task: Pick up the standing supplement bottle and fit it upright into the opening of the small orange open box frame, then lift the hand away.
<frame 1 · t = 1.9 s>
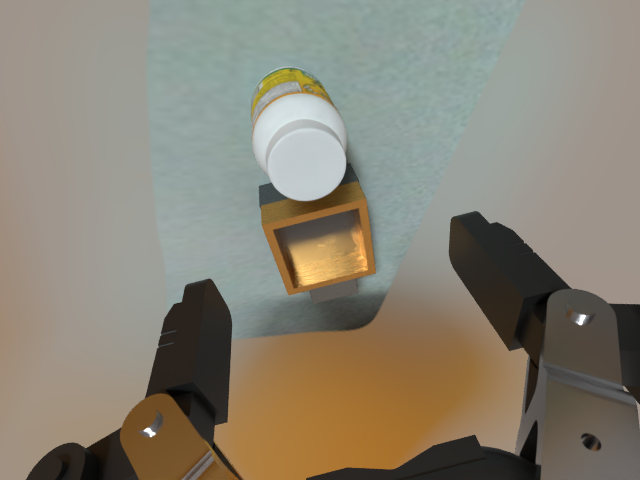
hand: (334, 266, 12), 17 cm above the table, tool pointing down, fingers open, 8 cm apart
supplement bottle: (289, 105, 25), on the table
orange open box frame: (316, 222, 31), on the table
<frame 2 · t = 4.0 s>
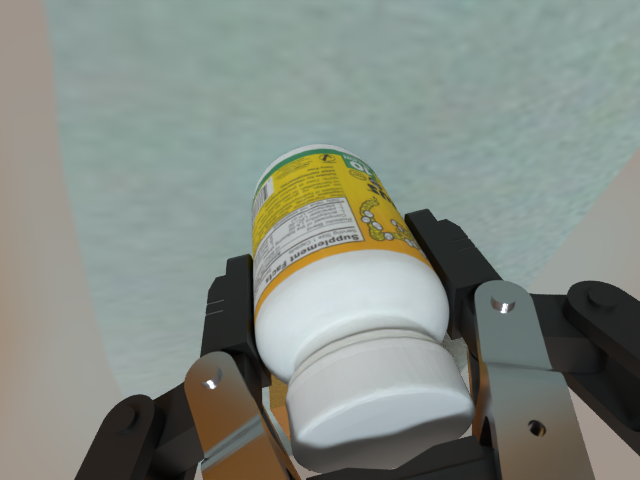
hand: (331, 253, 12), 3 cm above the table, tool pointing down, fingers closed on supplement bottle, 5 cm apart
supplement bottle: (315, 198, 15), on the table, touching gripper
orange open box frame: (347, 342, 21), on the table
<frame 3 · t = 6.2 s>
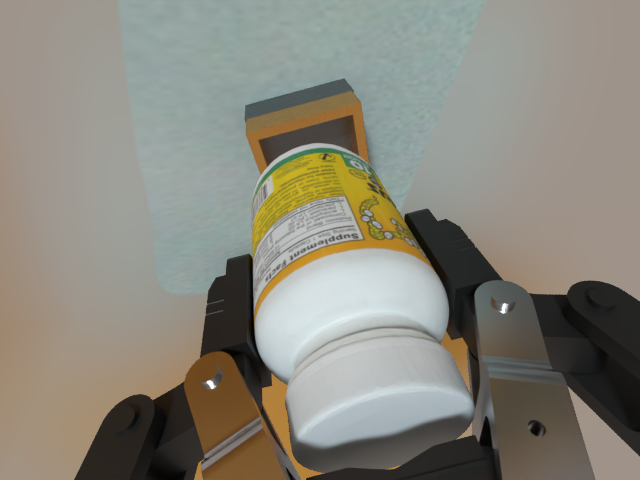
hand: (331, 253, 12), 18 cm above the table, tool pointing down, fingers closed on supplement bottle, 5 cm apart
supplement bottle: (315, 197, 15), point 14 cm above the table, touching gripper
orange open box frame: (310, 152, 29), on the table
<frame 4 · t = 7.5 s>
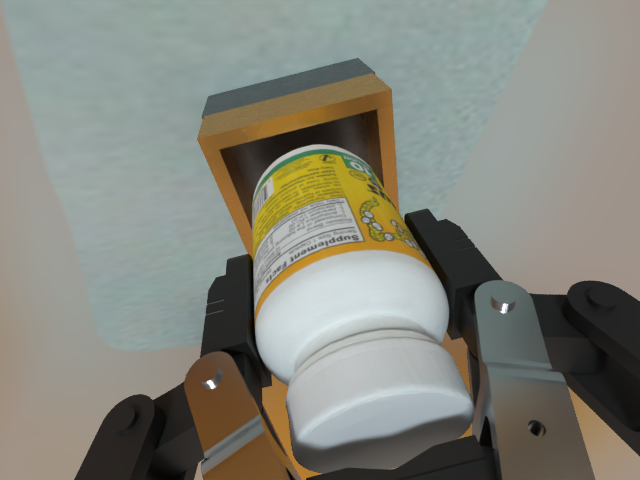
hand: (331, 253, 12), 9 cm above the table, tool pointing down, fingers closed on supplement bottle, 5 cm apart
supplement bottle: (315, 198, 15), point 6 cm above the table, touching gripper
orange open box frame: (305, 167, 20), on the table
when the fingers open (7 cm above the table, at t = 8.4 s): supplement bottle stays where it is, resting on orange open box frame.
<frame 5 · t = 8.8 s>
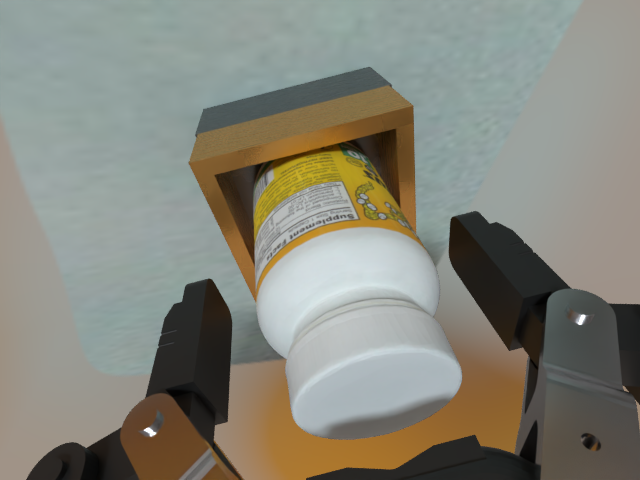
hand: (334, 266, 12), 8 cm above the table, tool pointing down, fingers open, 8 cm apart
supplement bottle: (314, 187, 15), point 3 cm above the table, touching orange open box frame
orange open box frame: (310, 184, 19), on the table
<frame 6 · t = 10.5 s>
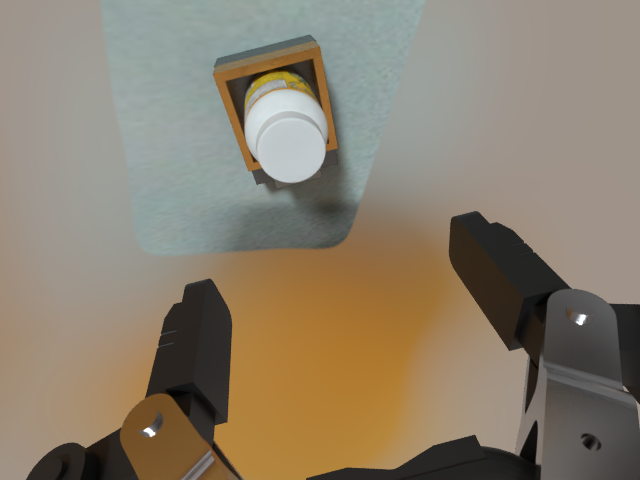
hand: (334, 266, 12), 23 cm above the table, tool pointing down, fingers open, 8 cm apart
supplement bottle: (279, 102, 28), point 3 cm above the table, touching orange open box frame
orange open box frame: (280, 109, 31), on the table
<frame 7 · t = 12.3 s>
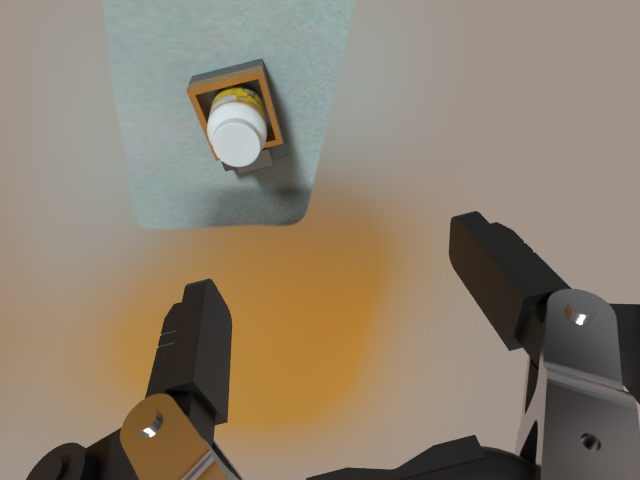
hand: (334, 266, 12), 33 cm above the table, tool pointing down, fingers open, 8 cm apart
supplement bottle: (239, 109, 37), point 3 cm above the table, touching orange open box frame
orange open box frame: (242, 113, 40), on the table
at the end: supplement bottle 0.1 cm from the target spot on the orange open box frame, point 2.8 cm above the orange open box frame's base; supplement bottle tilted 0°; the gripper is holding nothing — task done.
